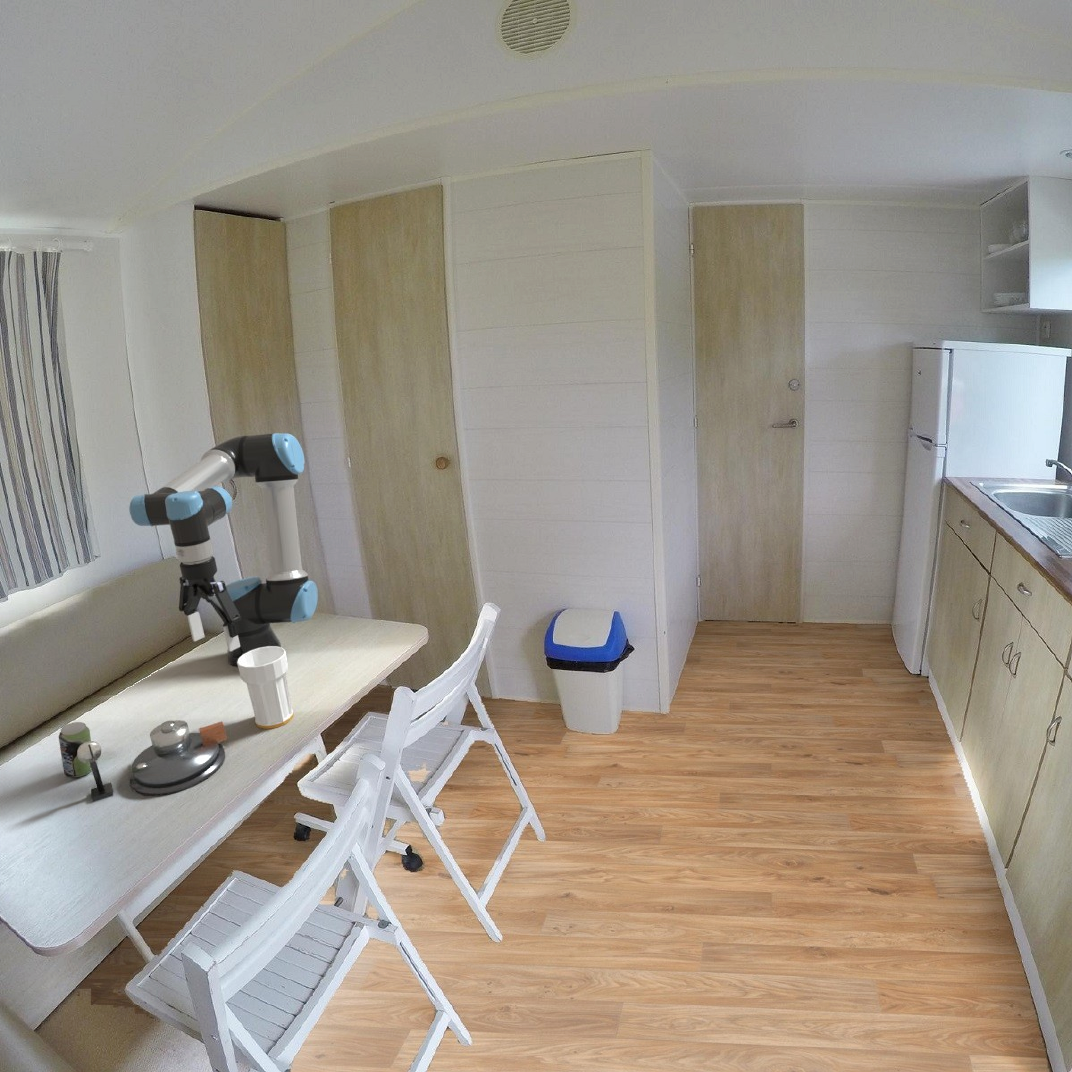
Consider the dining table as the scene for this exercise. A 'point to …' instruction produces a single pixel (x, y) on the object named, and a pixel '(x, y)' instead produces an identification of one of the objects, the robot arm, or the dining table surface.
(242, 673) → the cup
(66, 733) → the beverage can
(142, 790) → the turntable base
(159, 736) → the cover
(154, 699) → the dining table surface
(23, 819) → the dining table surface
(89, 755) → the dial stand
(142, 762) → the turntable
